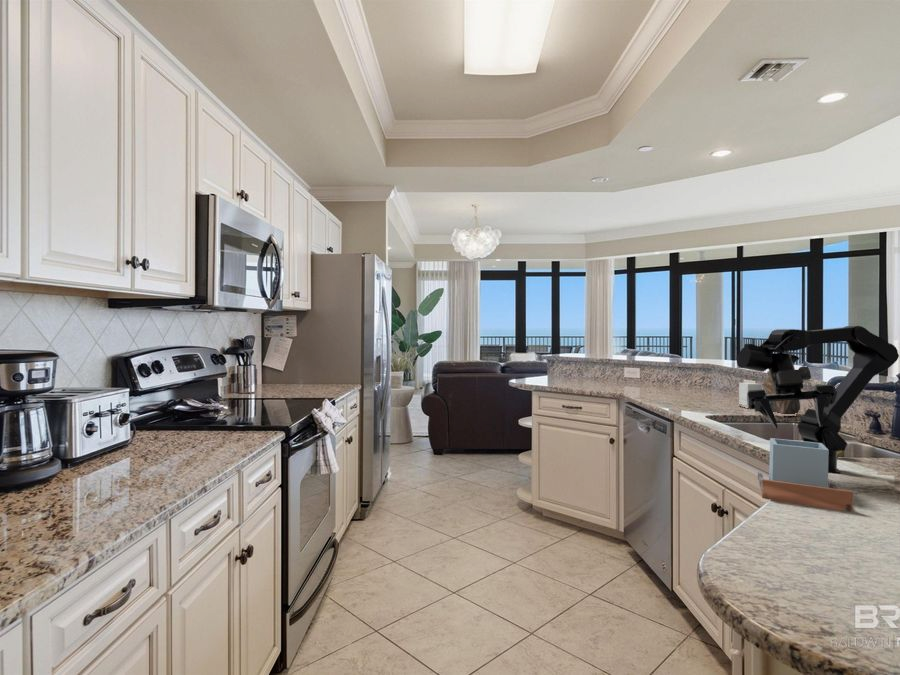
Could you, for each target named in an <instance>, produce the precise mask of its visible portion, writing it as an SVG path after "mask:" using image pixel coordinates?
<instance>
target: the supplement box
mask: <svg viewBox="0 0 900 675" xmlns="http://www.w3.org/2000/svg"><path fill="white" fill-rule="evenodd" d="M738 384H739V385H738V386H739V391H738V399H739V401H738V405H739V404H742V405H747V406H748V404H747V393H748V391H749V390H762V389H763V387H762V386H763V385H762V384H761V383H756V382H739V383H738Z"/></svg>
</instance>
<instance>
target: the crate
mask: <svg viewBox="0 0 900 675" xmlns="http://www.w3.org/2000/svg"><path fill="white" fill-rule="evenodd" d="M828 458H829V450H828V449H827V448H826V447H825V446H824V445H823V444H822V443H815V442H805V441H803V440H794V439H782V438H773V437H770V438H769V464H768V465H769V467H768V468H769V472H768V480H773V481H780V482H788V483H795V484H803V485H810V486H818V487H825V488H829V472H828Z"/></svg>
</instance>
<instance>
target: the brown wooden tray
mask: <svg viewBox="0 0 900 675" xmlns="http://www.w3.org/2000/svg"><path fill="white" fill-rule="evenodd" d="M757 480H758V483H759V484H758V485H759V487H760V491H761V499H765V500H771V501H779V502H784V503H785V502H786V503H792V504H798V505H804V506H811V507H813V506H814V507H819V508H825V509H830V510H831V509H833V510H839V511H846V512H853V500H854V499H853V490H845V489H841V488H840V489H839V487H838V486H837V484H835V483H834V481H828V488H825V487H818V486H810V485H803V484H795V483H788V482H780V481H773V480H769V479H765V478H764V476H763V472H759V471H758V472H757Z"/></svg>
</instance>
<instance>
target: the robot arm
mask: <svg viewBox="0 0 900 675" xmlns="http://www.w3.org/2000/svg"><path fill="white" fill-rule="evenodd" d="M842 342H846V343H847V346H848V348H849V350H850V351H852V352H853V353H854V355H853V358H852V367H851V369H850V370H849V371H848V372H847V373H846V375H845V377H844V378H843V379H842V380H841V381H840V383H839V384H838V385H837V386H834V385H833V384H831V383H830V384H829V383H827V384H815V385H814V387H813V390H807V391H802V390H803V389H804V384H803V383H804V381H809V380H811V379H812V374H811V370H810V368H809V366H800V367H798V369H795V365H794V364H795V363H796V362H797V361H799V360H800V357H799V356H797V355H795V354H793V353H792V352H794V351H799V350H803V349H805V348H808V347H810V346H813V345H822V344H833V343H842ZM788 351H789V352H788ZM786 352H788V353H786ZM899 357H900V355H899V351H898V348H897V347H896V346H895V344H892V343H889V342H888V341H886V339H884V338H882V337H881V336H878V335H877V334H875V333H872V332H871V331H869V330H868V329H867V328H865V327H864V326H860V325H846V326H843V327H834V328H825V329H814V330H813V329H812V330H806V329H793V328H789V329H787V328H786V329H784V328H783V329H774V330H772V331H771V333H770V334H769V335H768V337H767V339H765V340H764V341H763V342H762V343H761V344H760V345H756V344H753V343H744V346H743V348H742V349H741V350H740V351H739V352H738V354H737V355H736V365H737V366H738V367H739V368H740V369H744V370H749V371H750V370H751V371H755V372H760V373H763V372H766V371H767V370H768V371H769V373H770V376H771V380H772V383H773V387H774V391H775V394H766V390H765V389H763V388H762V390H749V391H748V393H747V404H748V408H749V409H748V410H754V412H759V413H760V414H761V415H763V416H764V417H765V418H766V419H767V421H769V423H770V424H771V426H772V427H773V428H775V430H776V429H777V430H778V423H777V420H776V416H774V414H773V412H772V409H771V407H770V403H769V402H773V401H789V400H799V401H801V400H813V402H814V409H812V408H807V410H806V411H805V413H804V414H803V415H802V417H800V418H799V419H798V421H799V423H798V425H797V429H798V433H799V435H800V436H801V438H802V441H805V442H815V443H822V444H823V445H824V446H825V447H826V448H827V449H828V450H829V458H828V474H829V473H830V474H831V473H832V474H837V475H838V474H839V475H840V474H841V470H839V468H838V454H837V451H842V452H843V451H845V450H846V448H847V446H848V442H847V441H846V440H845V439H844V438H843V437H842V436H841V434H840V433H839V432H840V431H841V428H842V427H841V426H842V423H841V422H842V417H843V416H844V415H845V413H846V412H847V411H848V410H849V408H850V407H851V406H852V405H853V403H854V402H855V401H856V399H857V398H858V397H859V396H860V394H861V393H862V392H863V390H864V389H865V388H866V387H867V386H868V384H869V383H870V382H871V381H872V379H873V378H874V377H875V376H877V375H879V374H882V373H883V372H885V371H887V370H888V369H890V367H893V365H894V364H895V363H896V362H897V360H899Z"/></svg>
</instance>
